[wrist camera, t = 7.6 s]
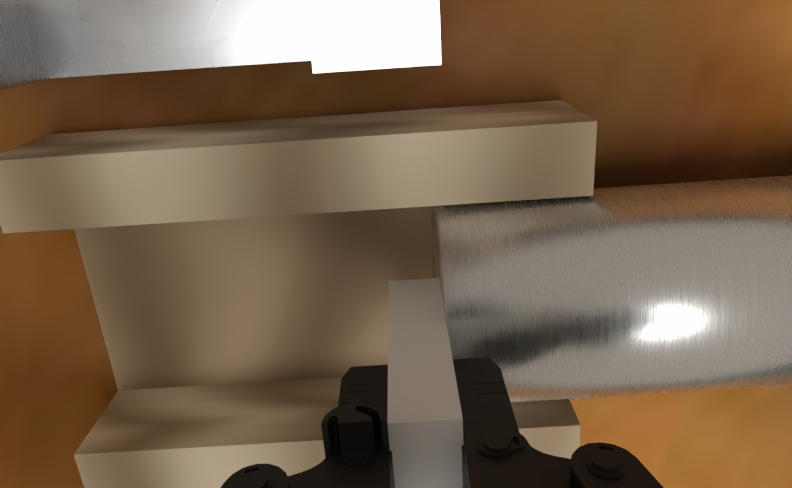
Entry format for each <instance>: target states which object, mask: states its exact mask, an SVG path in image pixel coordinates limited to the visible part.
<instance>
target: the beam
mask: <svg viewBox="0 0 792 488" xmlns="http://www.w3.org/2000/svg"><path fill="white" fill-rule="evenodd" d="M596 136H597V121H596V120H595V119H593V118H591V117H590V116H588V115H586V114H585V113H583V112H581V111H580V110H578V109H576V108H575V107H573V106H571V105H570V104H568V103H566V102H565V101H563V100H551V101H536V102H521V103H506V104H491V105H476V106H461V107H446V108H431V109H416V110H401V111H385V112H370V113H355V114H340V115H325V116H310V117H295V118H280V119H265V120H250V121H235V122H220V123H205V124H190V125H175V126H159V127H144V128H129V129H114V130H99V131H84V132H69V133H54V134H48V135H45V136H43V137H40V138H38V139H36V140H33V141H31V142H28V143H26V144H23V145H21V146H18V147H16V148H13V149H11V150H8V151H6V152H3V153H1V154H0V225H1V228H2V232H3V233H18V232H34V231H50V230H65V229H74V231H75V235H76V238H77V242H78V246H79V249H80V253H81V257H82V260H83V264H84V268H85V271H86V275H87V279H88V282H89V286H90V290H91V293H92V297H93V301H94V304H95V308H96V312H97V315H98V319H99V323H100V326H101V330H102V334H103V337H104V341H105V345H106V348H107V352H108V356H109V359H110V363H111V367H112V370H113V374H114V378H115V381H116V385H117V389H118V391H117V393H116V394H115V396H114V397H113V399H112V400H111V401H110V403H109V404H108V406H107V407H106V409H105V410H104V412H103V413H102V414H101V416H100V417H99V419H98V420H97V422H96V423H95V425H94V426H93V427H92V429H91V430H90V432H89V433H88V435H87V436H86V438H85V439H84V440H83V442H82V443H81V445H80V446H79V448H78V449H77V451H76V452H75V453H74V457H75V460H76V464H77V467H78V470H79V473H80V476H81V479H82V482H83V486H84V488H221V486H222V485H223V483H224V482H225V481H226V480H227V479H228V478H229V477H230V476H231V475H232V474H233V473H235V472H237V471H238V470H240V469H242V468H244V467H247V466H251V465H254V464H272V465H275V466H279V467H280V468H281V469H282V470H284V471H285V472H286V474H287V476H290V475H294V474H297V473H300V472H303V471H306V470H308V469H311V468H313V467H314V466H316V465H318V464H319V463H321V462H322V461H323V460H324V459H325V450H324V443H323V435H322V428H321V423H322V421H323V419H324V416H325V415H326V414H327V413H329V412H330V411H331V410H332V409H334V408H336V407H338V401H339V395H340V386H341V379H342V378H343V376H344V375H345V374H346V372H347V371H348V370H349V369H350V367H355V366H372V365H388V295H389V281H399V280H415V279H431V278H434V277H433V257H432V206H441V205H456V204H472V203H488V202H503V201H519V200H535V199H550V198H566V197H582V196H593V190H594V172H595V154H596ZM511 405H512V409H513V412H514V416H515V419H516V422H517V426H518V429H519V432H520V434H521V435H523V436H524V437H525V438H526V440H527V441H528V443H529V445H530V446H531V447H533V448H534V449H536V450H538V451H540V452H543V453H545V454H549V455H553V456H558V457H563V458H569V459H571V456H572V454H573V453H574V452H575V451H576V449H577V448H579V443H580V423H579V421H578V419H577V416H576V414H575V412H574V410H573V407H572V405H571V403H570V401H569V399H561V400H545V401H529V402H513V403H511Z"/></svg>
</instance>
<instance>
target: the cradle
mask: <svg viewBox="0 0 792 488" xmlns="http://www.w3.org/2000/svg"><path fill="white" fill-rule="evenodd" d="M299 61H311V62H312V71H313V74H315V73H329V72H344V71H359V70H374V69H389V68H403V67H418V66H433V65H442V59H441V31H440V3H439V0H0V90H3V89H7V88H11V87H15V86H19V85H24V84H28V83H32V82H36V81H40V80H45V79H49V78H62V77H77V76H92V75H107V74H121V73H136V72H151V71H166V70H180V69H195V68H210V67H225V66H239V65H254V64H269V63H284V62H299Z"/></svg>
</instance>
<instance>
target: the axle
mask: <svg viewBox="0 0 792 488" xmlns="http://www.w3.org/2000/svg"><path fill="white" fill-rule="evenodd" d="M432 257H433V277H434V278H439V283H440V289H441V294H442V300H443V306H444V311H445V317H446V323H447V329H448V335H449V341H450V347H451V353H452V359H466V358H483V357H489V358H490V359H491V360H492V361H494V362H495V363H496V364H497V365H498V366H499V367H500V368H501V372H502V375H503V378H504V383H505V385H506V389H507V393H508V395H509V399H510V402H511V403H513V402H529V401H545V400H561V399H577V398H592V397H608V396H624V395H640V394H656V393H672V392H688V391H704V390H720V389H736V388H752V387H767V386H783V385H792V175H789V176H774V177H759V178H743V179H728V180H713V181H698V182H683V183H668V184H653V185H638V186H623V187H608V188H594V190H593V196H582V197H566V198H550V199H535V200H519V201H503V202H488V203H472V204H456V205H441V206H432Z"/></svg>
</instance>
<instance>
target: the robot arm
mask: <svg viewBox="0 0 792 488" xmlns="http://www.w3.org/2000/svg"><path fill="white" fill-rule="evenodd" d="M321 428H322V435H323V443H324V450H325V459H324V460H323V461H322V462H321V463H319V464H318V465H316V466H314V467H313V468H311V469H308V470H306V471H303V472H300V473H297V474H294V475H290V476H287V474H286V472H285V471H284V470H282V469H281V468H280V467H279V466H275V465H272V464H254V465H251V466H247V467H244V468H242V469H240V470H238V471H237V472H235V473H233V474H232V475H231V476H230V477H229V478H228V479H227V480H226V481H225V482H224V483H223V485H222V486H221V488H663V487H662V485H661V484H660V483H659V482H658V481H657V480H656V479H655V478H654V477H653V476H652V474H651V473H650V472H649V471H648V470H647V469H646V468H645V467H644V466H643V464H642V463H641V462H640V461H639V460H638V459H637V458H636V457H635V456H634V455H632V454H631V453H630V452H629V451H627V450H625V449H623V448H621V447H618V446H616V445H613V444H607V443H589V444H586V445H583V446H581V447H579V448H577V449H576V451H575V452H574V453H573V454H572V456H571V459H569V458H563V457H558V456H553V455H549V454H545V453H543V452H540V451H538V450H536V449H534V448H533V447H531V446H530V445H529V443H528V441H527V440H526V438H525V437H524V436H523V435H521V434H520V432H519V429H518V426H517V422H516V419H515V416H514V412H513V409H512V405H511V402H510V399H509V395H508V393H507V389H506V385H505V383H504V378H503V375H502V372H501V368H500V367H499V366H498V365H497V364H496V363H495V362H494V361H492V360H491V359H490V358H489V357H483V358H466V359H452V353H451V347H450V341H449V335H448V329H447V323H446V317H445V311H444V306H443V300H442V294H441V289H440V283H439V278H431V279H415V280H399V281H389V295H388V365H372V366H355V367H350V369H349V370H348V371H347V372H346V374H345V375H344V376H343V378H342V379H341V386H340V395H339V401H338V407H336V408H334V409H332V410H331V411H330V412H329V413H327V414H326V415H325V416H324V419H323V421H322V423H321Z"/></svg>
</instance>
